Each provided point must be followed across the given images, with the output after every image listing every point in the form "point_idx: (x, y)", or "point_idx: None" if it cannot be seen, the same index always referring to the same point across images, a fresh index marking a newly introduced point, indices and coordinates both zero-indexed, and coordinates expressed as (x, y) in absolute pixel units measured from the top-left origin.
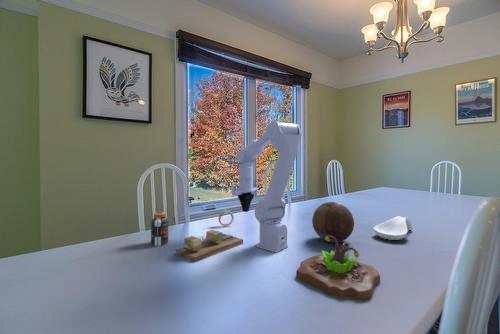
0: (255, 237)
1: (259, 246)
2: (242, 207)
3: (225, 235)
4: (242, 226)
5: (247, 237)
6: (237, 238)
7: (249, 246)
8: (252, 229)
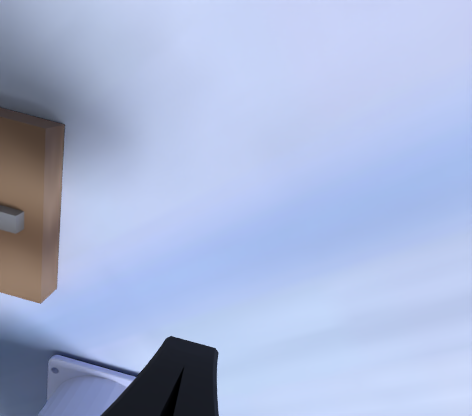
0: (194, 313)
1: (47, 385)
2: (138, 383)
3: (22, 161)
4: (446, 102)
5: (166, 269)
6: (30, 266)
7: (42, 331)
8: (373, 230)
